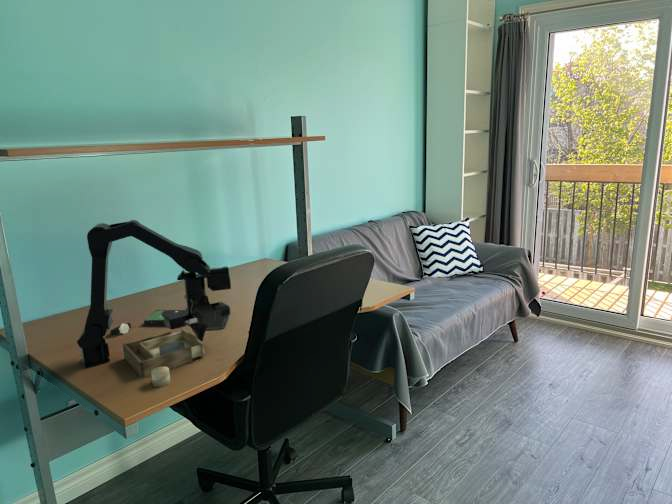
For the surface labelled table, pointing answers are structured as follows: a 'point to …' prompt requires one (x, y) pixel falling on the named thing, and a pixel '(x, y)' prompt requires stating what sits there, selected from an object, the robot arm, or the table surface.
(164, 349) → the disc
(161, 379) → the stand
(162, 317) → the disk drive
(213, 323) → the phone
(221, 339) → the table surface
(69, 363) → the table surface
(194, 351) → the tray
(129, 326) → the watch
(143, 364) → the housing
